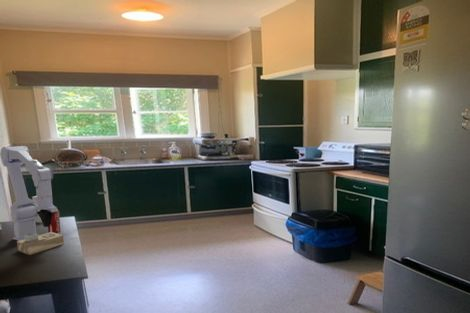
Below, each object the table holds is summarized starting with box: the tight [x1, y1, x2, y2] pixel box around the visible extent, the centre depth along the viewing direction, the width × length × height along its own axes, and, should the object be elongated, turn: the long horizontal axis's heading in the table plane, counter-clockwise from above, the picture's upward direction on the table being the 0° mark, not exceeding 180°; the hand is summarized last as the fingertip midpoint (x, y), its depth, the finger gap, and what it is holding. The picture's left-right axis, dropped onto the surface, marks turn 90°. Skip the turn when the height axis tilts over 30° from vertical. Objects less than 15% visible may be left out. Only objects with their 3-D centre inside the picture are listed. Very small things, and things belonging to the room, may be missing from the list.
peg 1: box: [24, 231, 39, 243], centre depth 131 cm, size 4×4×4 cm
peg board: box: [16, 232, 65, 256], centre depth 135 cm, size 10×14×4 cm
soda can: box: [47, 208, 61, 234], centre depth 153 cm, size 5×5×12 cm
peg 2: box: [43, 234, 55, 238], centre depth 138 cm, size 4×4×4 cm
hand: (47, 226), depth 137 cm, fingers closed
